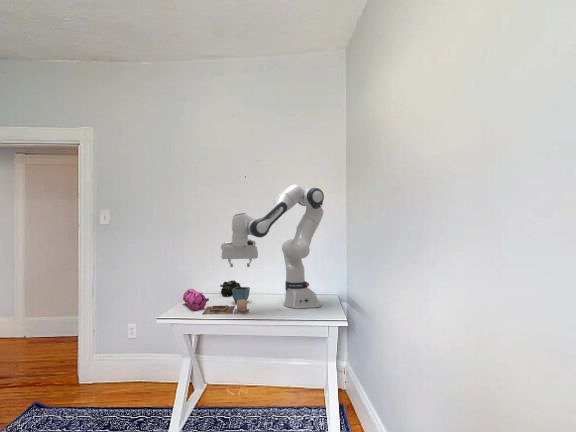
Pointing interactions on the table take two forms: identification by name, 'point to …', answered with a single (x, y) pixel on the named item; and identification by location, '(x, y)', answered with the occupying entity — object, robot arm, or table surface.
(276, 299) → the table surface
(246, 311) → the mat
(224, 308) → the socket board
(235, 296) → the flower pot
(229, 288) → the film camera
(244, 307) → the toggle lever handle
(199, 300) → the pencil case
